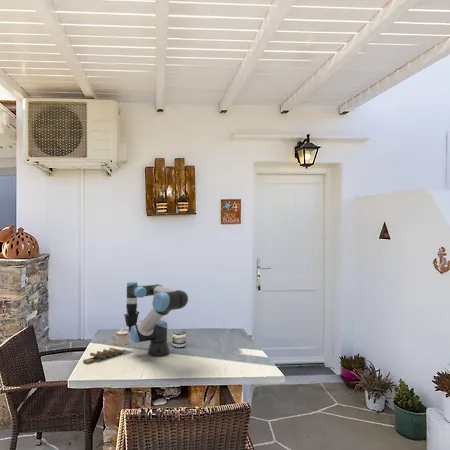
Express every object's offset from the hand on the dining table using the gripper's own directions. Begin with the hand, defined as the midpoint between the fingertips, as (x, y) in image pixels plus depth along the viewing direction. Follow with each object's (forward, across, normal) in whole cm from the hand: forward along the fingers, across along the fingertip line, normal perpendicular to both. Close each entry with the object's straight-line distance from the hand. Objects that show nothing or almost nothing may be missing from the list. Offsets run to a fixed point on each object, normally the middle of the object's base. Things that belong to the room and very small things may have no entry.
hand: (131, 335), depth 305 cm
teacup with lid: (+11, -6, -19) cm, 23 cm away
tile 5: (+10, +28, 0) cm, 30 cm away
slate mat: (+11, +17, 0) cm, 21 cm away
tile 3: (+10, +18, 0) cm, 21 cm away
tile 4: (+9, +24, 0) cm, 26 cm away
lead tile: (+10, +8, 0) cm, 13 cm away
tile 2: (+10, +13, 0) cm, 16 cm away
